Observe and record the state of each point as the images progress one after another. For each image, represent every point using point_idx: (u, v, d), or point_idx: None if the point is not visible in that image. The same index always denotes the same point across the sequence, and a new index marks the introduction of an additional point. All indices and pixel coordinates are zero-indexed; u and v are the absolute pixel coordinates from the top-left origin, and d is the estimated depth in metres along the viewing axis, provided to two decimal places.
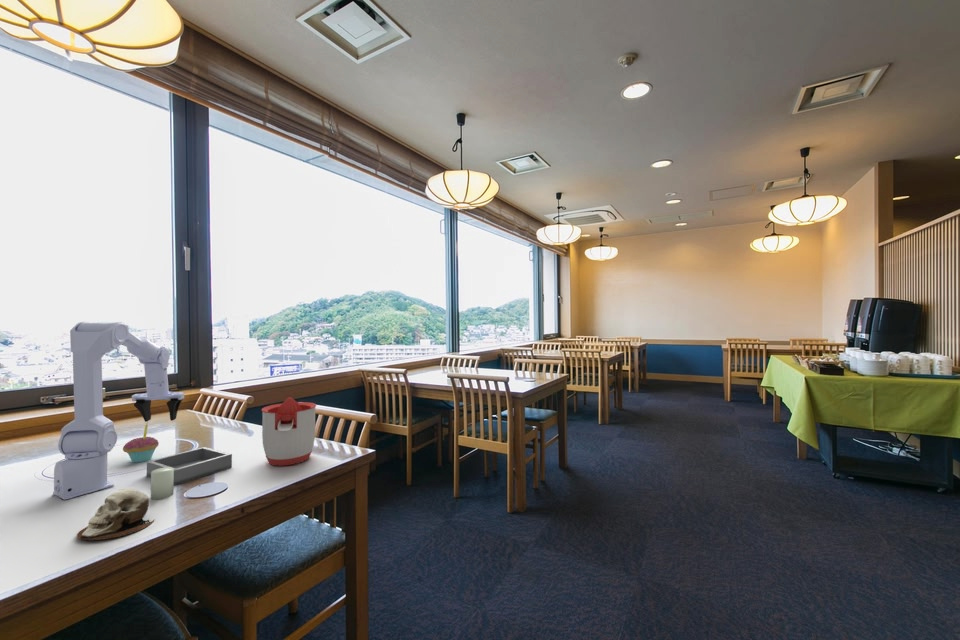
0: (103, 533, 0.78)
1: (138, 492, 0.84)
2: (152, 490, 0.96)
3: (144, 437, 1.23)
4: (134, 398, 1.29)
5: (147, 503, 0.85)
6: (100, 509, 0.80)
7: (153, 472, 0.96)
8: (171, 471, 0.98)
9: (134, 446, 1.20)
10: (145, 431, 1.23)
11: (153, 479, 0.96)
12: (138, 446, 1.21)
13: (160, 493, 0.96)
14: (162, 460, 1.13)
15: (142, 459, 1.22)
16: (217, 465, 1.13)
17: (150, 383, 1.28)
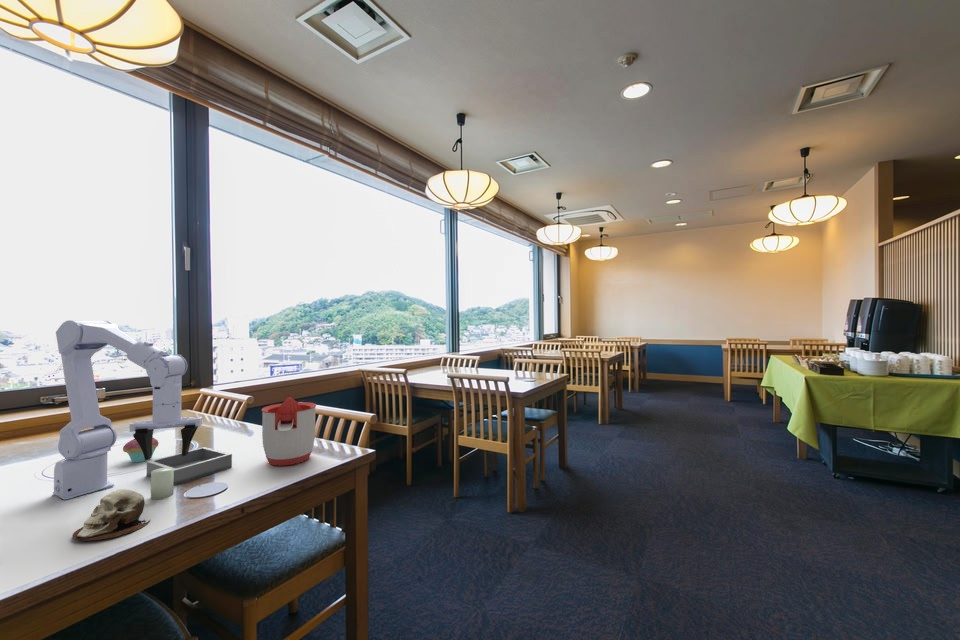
0: (99, 534, 0.78)
1: (134, 492, 0.84)
2: (152, 490, 0.96)
3: None
4: None
5: (143, 503, 0.85)
6: (96, 509, 0.80)
7: (153, 472, 0.96)
8: (171, 471, 0.98)
9: (134, 446, 1.20)
10: None
11: (153, 479, 0.96)
12: (138, 446, 1.21)
13: (160, 493, 0.96)
14: (162, 460, 1.13)
15: (142, 459, 1.22)
16: (217, 465, 1.13)
17: None
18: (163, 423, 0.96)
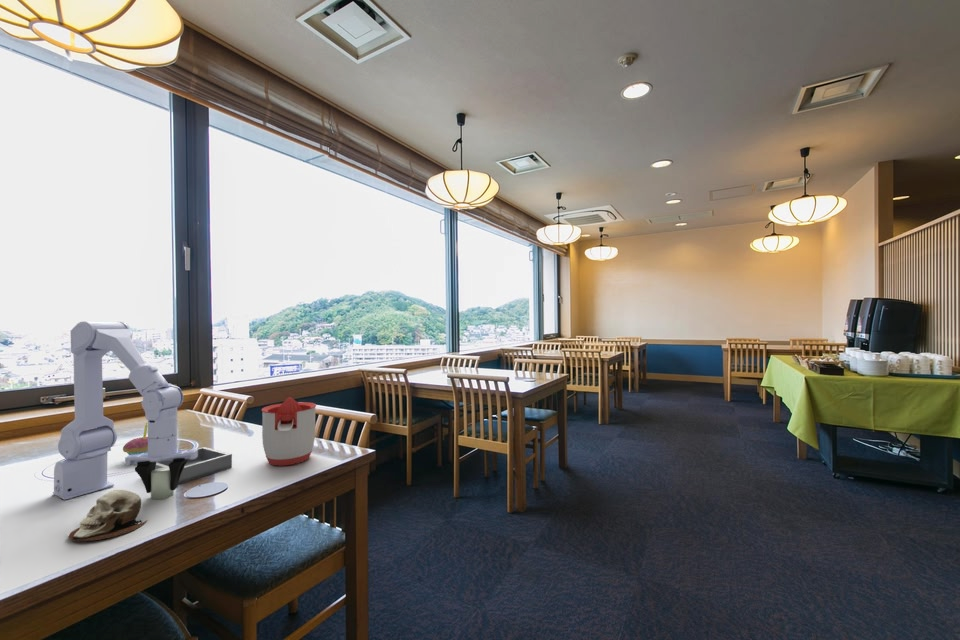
0: (95, 534, 0.78)
1: (130, 493, 0.84)
2: (152, 490, 0.96)
3: (144, 437, 1.23)
4: None
5: (140, 503, 0.85)
6: (92, 510, 0.80)
7: (153, 472, 0.96)
8: None
9: (134, 446, 1.20)
10: (145, 431, 1.23)
11: (153, 479, 0.96)
12: (138, 445, 1.21)
13: (160, 493, 0.96)
14: None
15: None
16: (217, 465, 1.13)
17: None
18: (157, 457, 0.95)
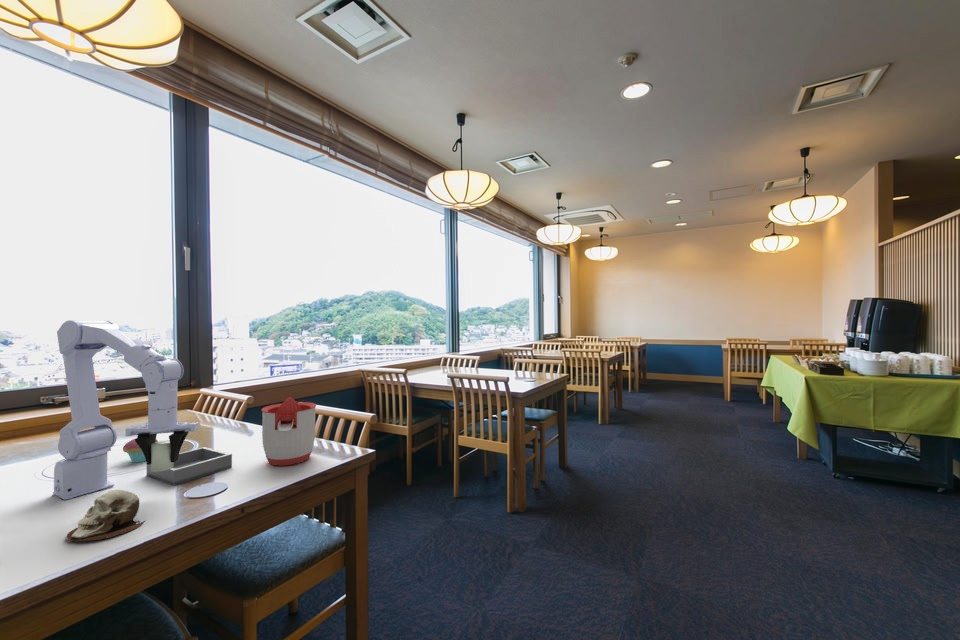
0: (93, 534, 0.78)
1: (129, 493, 0.84)
2: (152, 462, 0.96)
3: None
4: None
5: (138, 504, 0.85)
6: (90, 510, 0.79)
7: (153, 444, 0.96)
8: None
9: (134, 446, 1.20)
10: None
11: (153, 451, 0.96)
12: (138, 446, 1.21)
13: (160, 465, 0.96)
14: None
15: (142, 459, 1.22)
16: (217, 465, 1.13)
17: None
18: (157, 428, 0.95)
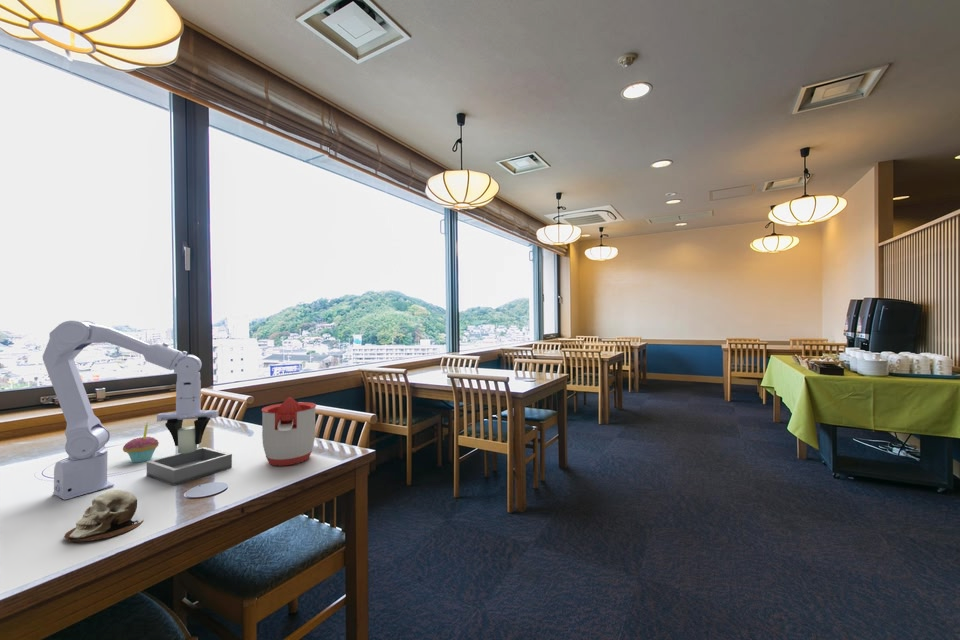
0: (91, 535, 0.78)
1: (127, 493, 0.84)
2: (179, 445, 1.10)
3: (144, 437, 1.23)
4: None
5: (136, 504, 0.85)
6: (88, 510, 0.79)
7: (179, 430, 1.10)
8: None
9: (134, 446, 1.20)
10: (145, 431, 1.23)
11: (179, 436, 1.10)
12: (138, 445, 1.21)
13: (186, 448, 1.10)
14: (162, 460, 1.13)
15: (142, 459, 1.22)
16: (217, 465, 1.13)
17: None
18: (184, 414, 1.09)
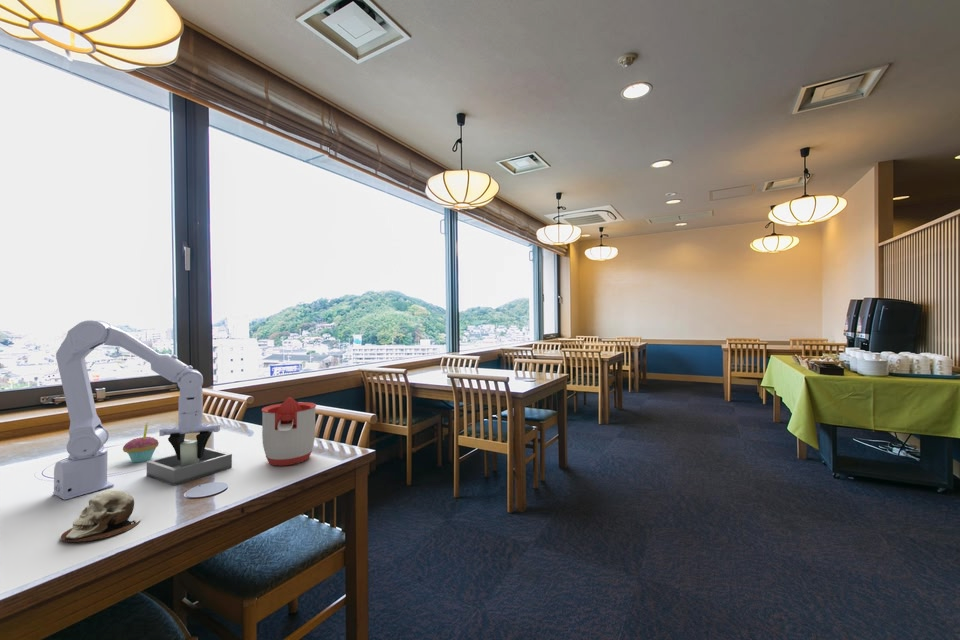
0: (88, 535, 0.78)
1: (123, 493, 0.84)
2: (181, 459, 1.11)
3: (144, 437, 1.23)
4: None
5: (133, 504, 0.85)
6: (85, 511, 0.79)
7: (182, 444, 1.12)
8: None
9: (134, 446, 1.20)
10: (145, 431, 1.23)
11: (182, 450, 1.11)
12: (138, 445, 1.21)
13: (188, 462, 1.12)
14: (162, 460, 1.13)
15: (142, 459, 1.22)
16: (217, 465, 1.13)
17: None
18: (187, 429, 1.11)
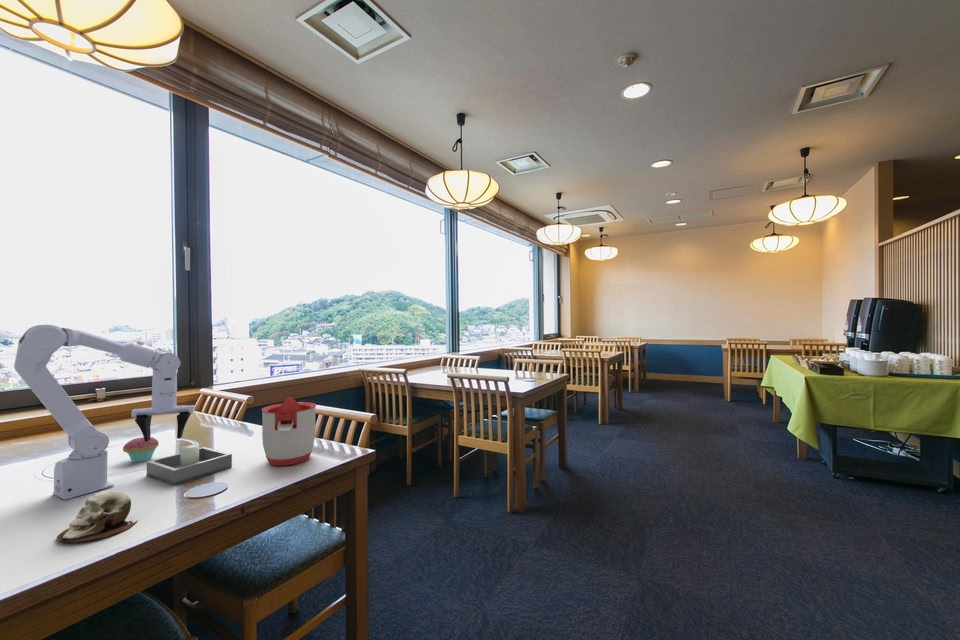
0: (85, 535, 0.78)
1: (120, 493, 0.84)
2: (181, 463, 1.12)
3: None
4: None
5: (130, 504, 0.85)
6: (81, 511, 0.79)
7: (182, 448, 1.12)
8: (197, 447, 1.14)
9: (134, 446, 1.20)
10: None
11: (182, 454, 1.11)
12: (138, 446, 1.21)
13: None
14: (162, 460, 1.13)
15: (142, 459, 1.22)
16: (217, 465, 1.13)
17: (152, 393, 1.13)
18: (161, 409, 1.12)
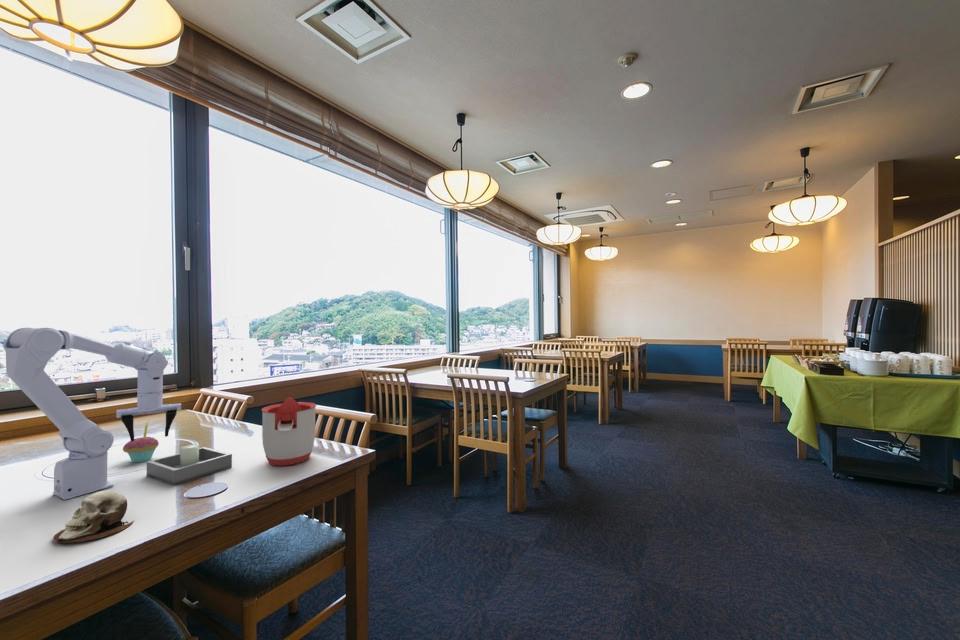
0: (81, 536, 0.77)
1: (116, 493, 0.84)
2: (181, 464, 1.12)
3: (144, 437, 1.23)
4: None
5: (126, 504, 0.85)
6: (77, 511, 0.79)
7: (182, 448, 1.12)
8: (197, 448, 1.14)
9: (134, 446, 1.20)
10: (145, 431, 1.23)
11: (182, 454, 1.11)
12: (138, 445, 1.21)
13: None
14: (162, 460, 1.13)
15: (142, 459, 1.22)
16: (217, 465, 1.13)
17: (138, 392, 1.13)
18: (151, 408, 1.13)
